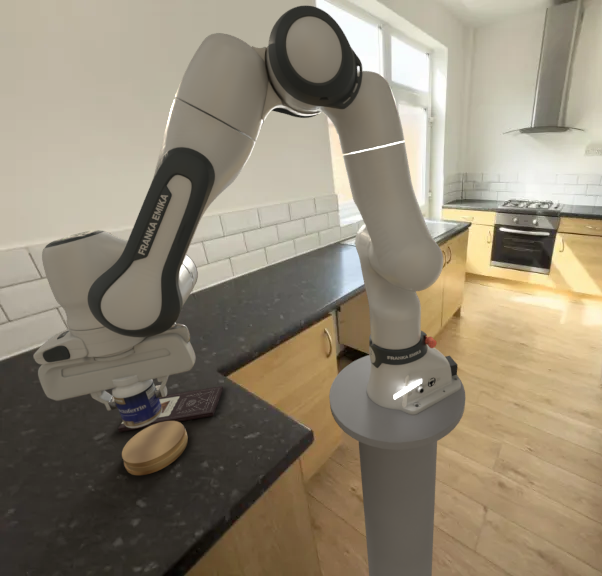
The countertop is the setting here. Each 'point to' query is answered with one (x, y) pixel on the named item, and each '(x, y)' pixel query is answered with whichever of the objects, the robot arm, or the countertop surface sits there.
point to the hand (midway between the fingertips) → (138, 401)
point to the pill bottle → (136, 401)
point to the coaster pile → (154, 447)
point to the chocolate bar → (185, 406)
